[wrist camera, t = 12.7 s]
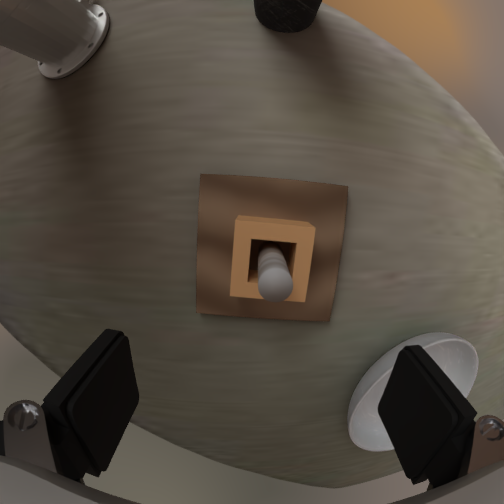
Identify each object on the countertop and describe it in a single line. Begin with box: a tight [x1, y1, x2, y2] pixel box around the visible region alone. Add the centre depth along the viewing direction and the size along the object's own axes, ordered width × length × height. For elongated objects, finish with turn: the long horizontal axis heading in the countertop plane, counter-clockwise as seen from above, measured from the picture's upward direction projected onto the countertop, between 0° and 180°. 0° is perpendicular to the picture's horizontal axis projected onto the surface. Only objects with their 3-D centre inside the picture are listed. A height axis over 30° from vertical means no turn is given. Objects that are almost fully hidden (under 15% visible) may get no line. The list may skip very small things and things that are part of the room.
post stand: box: [196, 174, 348, 321], centre depth 25 cm, size 15×15×12 cm
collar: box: [230, 215, 316, 302], centre depth 27 cm, size 7×7×4 cm
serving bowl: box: [347, 332, 478, 451], centre depth 31 cm, size 21×21×7 cm
